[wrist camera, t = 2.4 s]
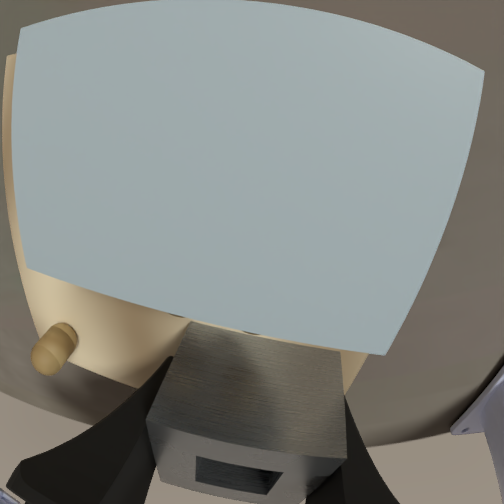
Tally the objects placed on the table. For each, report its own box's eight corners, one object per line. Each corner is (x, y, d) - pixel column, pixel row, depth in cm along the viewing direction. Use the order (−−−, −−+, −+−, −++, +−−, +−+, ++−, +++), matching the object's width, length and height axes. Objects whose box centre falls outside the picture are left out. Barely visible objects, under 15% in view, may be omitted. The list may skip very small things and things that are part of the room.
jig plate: (445, 93, 7) (521, 97, 3) (322, 412, 13) (321, 479, 10) (25, 55, 7) (-49, 61, 4) (53, 337, 14) (17, 383, 10)
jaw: (340, 351, 10) (346, 458, 6) (300, 427, 12) (294, 507, 9) (190, 321, 10) (145, 419, 6) (188, 404, 12) (160, 481, 9)
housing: (391, 83, 6) (484, 71, 2) (351, 240, 8) (384, 355, 4) (140, 48, 6) (20, 28, 3) (127, 196, 8) (26, 268, 4)
